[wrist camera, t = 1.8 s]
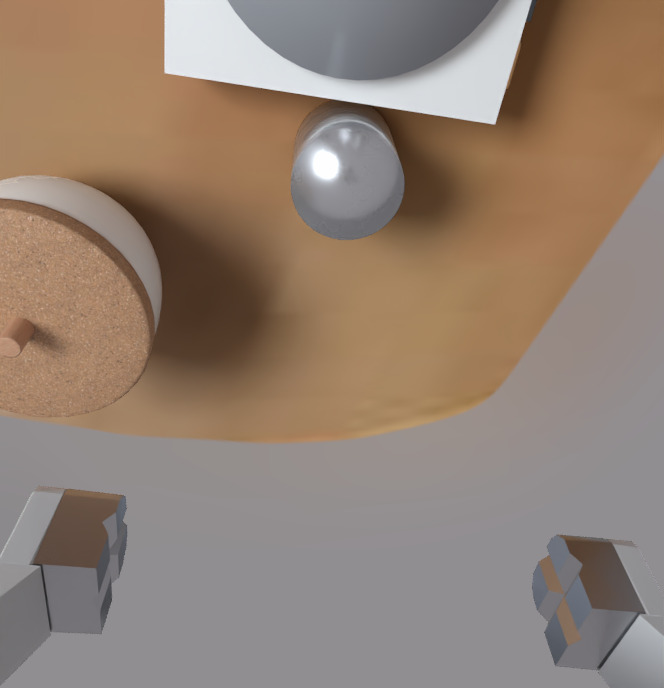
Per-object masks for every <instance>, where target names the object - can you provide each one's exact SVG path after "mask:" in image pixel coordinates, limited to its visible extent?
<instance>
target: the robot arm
mask: <svg viewBox="0 0 664 688" xmlns="http://www.w3.org/2000/svg"><path fill="white" fill-rule="evenodd" d="M126 509H127V508H126V497H125V496H124V495H117V494H109V493H108V494H107V493H100V492H91V491H83V490H74V489H64V488H55V487H54V488H53V487H45V486H38V487H37V489H35V490H34V491H33V493H32V494H31V496H30V498H29V500H28V502H27V504H26V506H25V508H24V510H23V512H22V514H21V516H20V518H19V520H18V522H17V524H16V526H15V528H14V530H13V532H12V534H11V536H10V538H9V540H8V542H7V544H6V545H5V547H4V549H3V552H2V553H1V555H0V686H1V684H3V683H4V681H5V680H6V679H7V678H8V677H9V676H10V675H11V674H12V673H13V672H14V671H15V670H16V669H17V668H18V667H19V666H20V665H21V664H22V663H23V662H24V661H25V660H26V659H27V658H28V657H29V656H30V655H31V654H32V653H33V652H34V651H35V650H36V649H37V648H38V647H39V646H40V645H41V644H42V643H43V642H44V641H45V640H46V639H47V638H48V637H49V636H50V635H51V633H50V632H63V633H87V634H88V633H89V634H102V630H103V627H104V624H105V621H106V618H107V614H108V611H109V608H110V605H111V602H112V587H111V584H112V583H113V582H114V581H115V580H116V579H117V578H119V575H120V571H121V568H122V565H123V560H124V555H125V550H126V542H127V525H126V524H125V523H124V522H123V518H124V515H125V512H126ZM547 549H548V552H549V556H547V557H546V558H544V559H542V560H541V561H539V562H538V565H537V567H536V569H535V571H534V573H533V583H532V589H533V597H534V601H535V605H536V608H537V610H538V612H539V613H540V614H541V615H542V616H543V617H544V618H545V619H546V620H547V621H548V625H547V627H546V630H545V632H544V633H545V636H546V639H547V642H548V645H549V648H550V651H551V654H552V657H553V660H554V663H555V666H560V667H570V668H580V669H591V670H599V672H598V673H599V675H600V676H601V677H602V678H603V679H604V681H605V682H606V683H607V684H608V686H609V687H610V688H664V596H663V594H662V592H661V590H660V589H659V587H658V585H657V583H656V581H655V579H654V577H653V575H652V573H651V571H650V569H649V568H648V566H647V564H646V562H645V560H644V558H643V556H642V554H641V552H640V550H639V548H638V547H637V546H636V545H635V544H634V543H633V542H632V541H623V540H611V539H603V538H593V537H580V536H566V535H556V536H554V537H553V538H551V540H550V542H549V544H548V545H547Z"/></svg>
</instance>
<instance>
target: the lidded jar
mask: <svg viewBox="0 0 664 688" xmlns="http://www.w3.org/2000/svg"><path fill="white" fill-rule="evenodd" d="M161 304H162V280H161V271H160V267H159V262H158V259H157V257H156V254H155V252H154V249H153V247H152V244H151V242H150V240H149V238H148V237H147V235H146V233H145V232H144V230H143V228H142V227H141V226H140V225H139V223H138V222H137V221H136V220H135V218H134V217H133V216H132V215H131V214H130V213H129V212H128V211H127V210H126V209H125V208H124V207H123V206H122V205H120V204H119V203H117V202H116V201H115V200H113V199H112V198H111V197H109V196H108V195H106V194H104V193H102V192H101V191H99V190H97V189H95V188H93V187H91V186H88V185H86V184H83V183H81V182H78V181H74V180H70V179H66V178H62V177H54V176H44V175H31V176H18V177H14V178H9V179H4V180H1V181H0V409H4V410H7V411H11V412H14V413H19V414H24V415H29V416H39V417H69V416H74V415H80V414H85V413H89V412H92V411H95V410H98V409H101V408H103V407H105V406H107V405H109V404H111V403H114V402H115V401H117V400H118V399H120V398H121V397H122V396H124V395H125V394H126V393H128V392H129V390H130V389H131V388H132V387H133V386H134V385H135V384H136V383H137V382H138V380H139V379H140V377H141V375H142V374H143V372H144V371H145V368H146V366H147V363H148V360H149V357H150V355H151V352H152V349H153V343H154V336H155V333H156V330H157V327H158V323H159V318H160V311H161Z"/></svg>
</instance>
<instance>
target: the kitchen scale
mask: <svg viewBox="0 0 664 688" xmlns="http://www.w3.org/2000/svg"><path fill="white" fill-rule="evenodd" d="M536 1H537V0H165V73H168V74H175V75H181V76H188V77H194V78H200V79H207V80H213V81H220V82H226V83H232V84H239V85H245V86H252V87H258V88H264V89H271V90H277V91H284V92H290V93H296V94H303V95H309V96H316V97H322V98H328V99H335V100H341V101H348V102H354V103H360V104H367V105H373V106H380V107H386V108H392V109H399V110H405V111H412V112H418V113H424V114H431V115H437V116H444V117H450V118H456V119H463V120H469V121H476V122H482V123H488V124H495V123H496V120H497V116H498V113H499V109H500V106H501V103H502V99H503V96H504V93H505V89H508V88H509V85H510V82H511V78H512V75H513V72H514V68H515V65H516V62H517V58H518V55H519V52H520V48H521V45H522V44H521V43H520V39H521V35H522V32H523V28H524V25H525V22H526V21H529V22H530V21H531V18H532V14H533V11H534V8H535V4H536Z"/></svg>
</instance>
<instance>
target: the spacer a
mask: <svg viewBox="0 0 664 688" xmlns="http://www.w3.org/2000/svg"><path fill="white" fill-rule="evenodd" d="M404 185H405V181H404V173H403V170H402V166H401V163H400V160H399V157H398V154H397V150H396V147H395V144H394V141H393V138H392V135H391V132H390V129H389V127H388V125H387V123H386V121H385V120H384V119H383V117H382V116H381V115H380V114H379V113H378V112H377V111H376V110H375V109H374V108H372V107H371V106H369V105H367V104H360V103H354V102H348V101H341V100H332V101H329V102H326V103H324V104H322V105H320V106H318V107H317V108H315V109H314V110H313V111H311V112H310V113H309V114H308V115H307V116H306V118H305V119H304V120H303V122H302V123H301V125H300V127H299V129H298V132H297V135H296V139H295V145H294V156H293V167H292V177H291V195H292V199H293V203H294V205H295V208H296V210H297V212H298V214H299V215H300V216H301V218H302V219H303V220H304V222H305V223H306V224H307V225H308V226H310V227H311V228H312V229H313V230H315V231H317V232H318V233H320V234H322V235H324V236H327V237H330V238H334V239H339V240H354V239H359V238H363V237H366V236H369V235H371V234H373V233H375V232H377V231H379V230H380V229H381V228H383V227H384V226H385V225H386V224H387V223H388V222H389V221H390V220H391V219H392V218H393V217H394V215H395V214H396V212H397V210H398V209H399V207H400V204H401V202H402V198H403V194H404Z"/></svg>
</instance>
